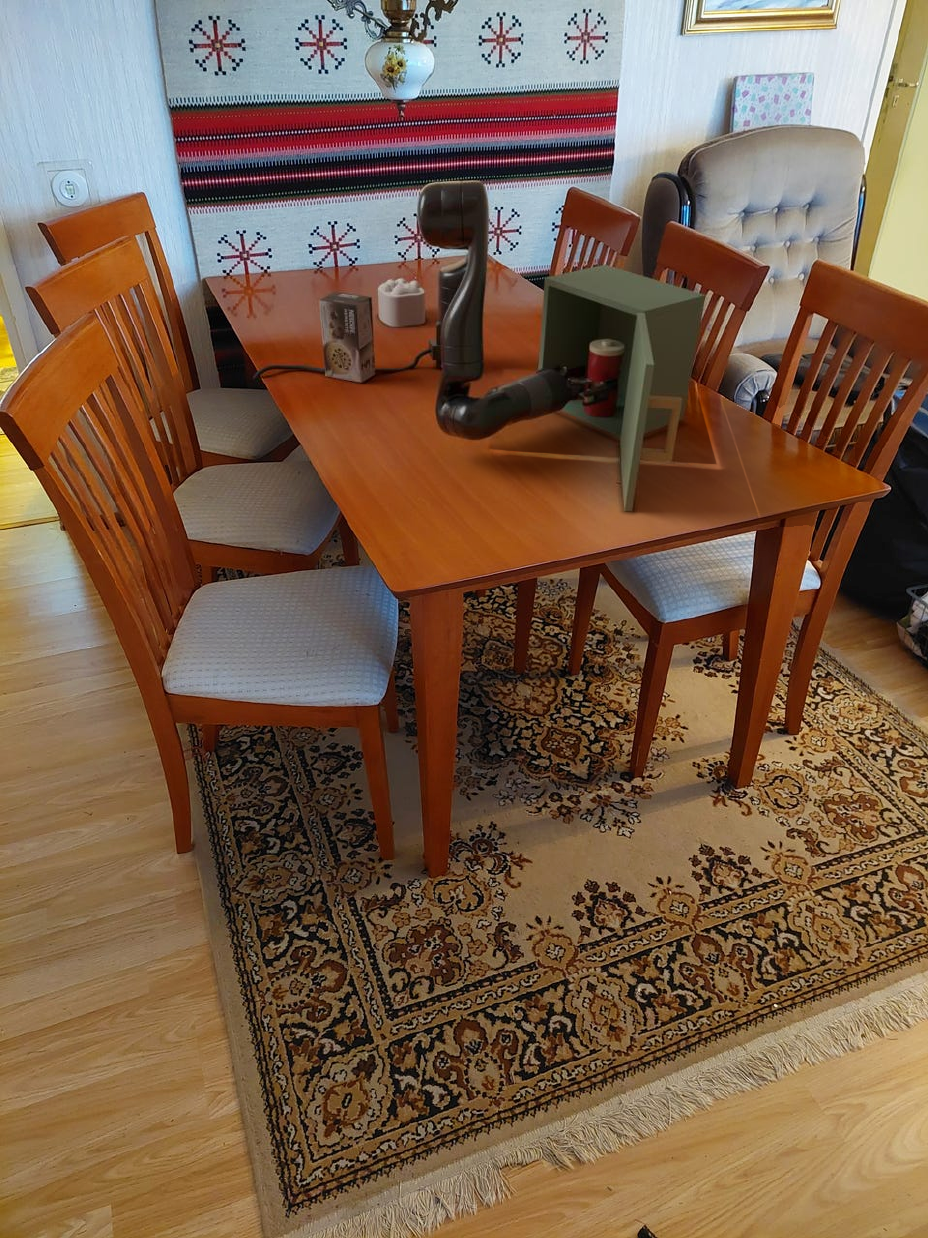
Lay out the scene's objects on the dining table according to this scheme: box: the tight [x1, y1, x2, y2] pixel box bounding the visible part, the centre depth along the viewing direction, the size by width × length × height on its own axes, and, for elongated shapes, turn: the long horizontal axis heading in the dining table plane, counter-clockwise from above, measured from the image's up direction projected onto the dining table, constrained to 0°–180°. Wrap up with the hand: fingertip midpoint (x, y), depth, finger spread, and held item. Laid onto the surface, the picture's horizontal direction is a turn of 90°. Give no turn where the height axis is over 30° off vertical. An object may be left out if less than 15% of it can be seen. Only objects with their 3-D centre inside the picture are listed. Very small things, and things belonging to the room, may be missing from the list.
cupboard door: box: [619, 313, 682, 512], centre depth 144 cm, size 6×24×24 cm, turn 174°
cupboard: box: [537, 264, 706, 438], centre depth 166 cm, size 16×24×24 cm, turn 39°
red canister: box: [583, 339, 625, 418], centre depth 167 cm, size 6×6×14 cm
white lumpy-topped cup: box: [377, 277, 426, 328], centre depth 216 cm, size 10×13×9 cm
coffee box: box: [318, 291, 376, 384], centre depth 182 cm, size 9×6×16 cm
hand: (599, 376), depth 166 cm, fingers open, 8 cm apart
